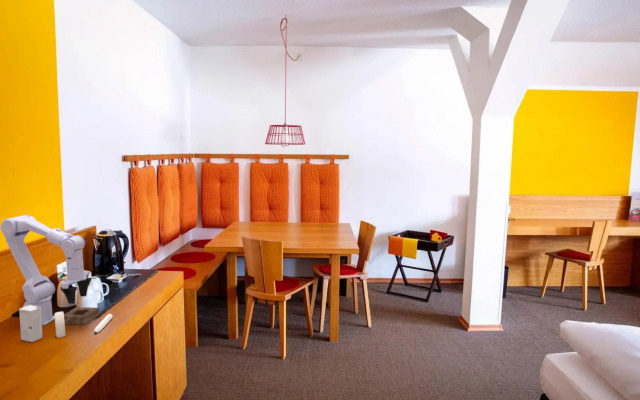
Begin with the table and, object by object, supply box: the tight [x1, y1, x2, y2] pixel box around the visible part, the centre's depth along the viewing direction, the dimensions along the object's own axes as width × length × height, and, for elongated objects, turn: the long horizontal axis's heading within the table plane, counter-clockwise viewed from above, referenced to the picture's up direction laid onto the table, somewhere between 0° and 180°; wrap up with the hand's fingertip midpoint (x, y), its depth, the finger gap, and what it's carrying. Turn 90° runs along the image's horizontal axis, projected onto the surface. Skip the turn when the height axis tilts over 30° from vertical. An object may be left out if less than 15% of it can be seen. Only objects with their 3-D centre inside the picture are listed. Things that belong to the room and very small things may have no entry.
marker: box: [93, 313, 114, 335], centre depth 171 cm, size 3×2×16 cm
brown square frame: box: [64, 306, 100, 326], centre depth 177 cm, size 10×10×3 cm
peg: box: [53, 311, 66, 338], centre depth 162 cm, size 3×3×9 cm
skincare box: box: [18, 305, 43, 343], centre depth 159 cm, size 6×4×12 cm
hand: (77, 299), depth 171 cm, fingers open, 7 cm apart
